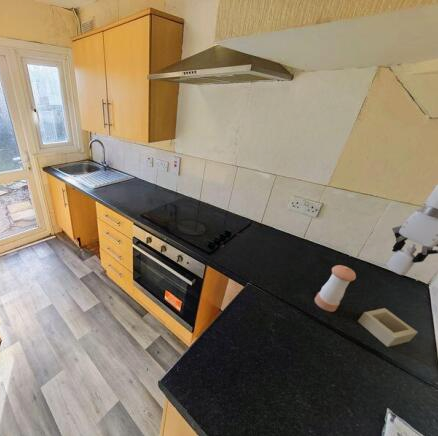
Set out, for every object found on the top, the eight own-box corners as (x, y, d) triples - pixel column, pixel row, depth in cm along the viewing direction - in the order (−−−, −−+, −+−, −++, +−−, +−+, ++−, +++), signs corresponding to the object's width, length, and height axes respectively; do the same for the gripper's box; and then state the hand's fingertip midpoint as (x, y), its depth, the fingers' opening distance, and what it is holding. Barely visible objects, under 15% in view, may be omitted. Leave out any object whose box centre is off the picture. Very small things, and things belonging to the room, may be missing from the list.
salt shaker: (334, 315, 86) (359, 277, 77) (312, 304, 91) (333, 267, 81) (337, 303, 91) (360, 267, 82) (316, 294, 95) (336, 258, 86)
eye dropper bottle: (398, 267, 87) (417, 241, 81) (406, 276, 82) (427, 250, 77) (384, 264, 88) (401, 239, 83) (391, 273, 84) (410, 247, 78)
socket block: (377, 316, 86) (384, 308, 84) (409, 341, 78) (418, 332, 75) (357, 321, 84) (364, 312, 82) (387, 347, 76) (395, 337, 73)
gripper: (484, 224, 67) (444, 271, 76) (414, 200, 82) (387, 242, 90) (466, 226, 65) (427, 273, 74) (398, 202, 80) (372, 243, 89)
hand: (405, 255), depth 82 cm, fingers closed on eye dropper bottle, 5 cm apart
